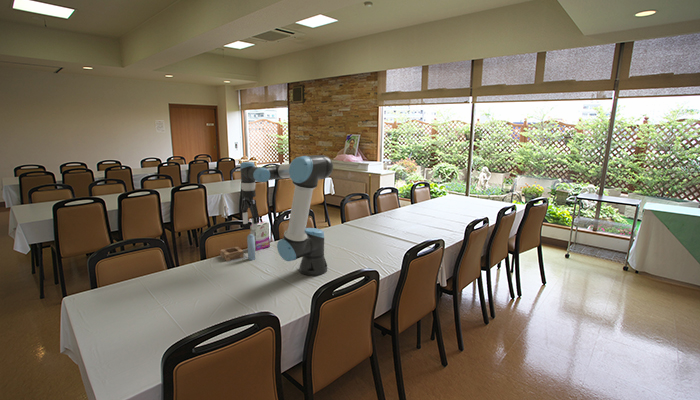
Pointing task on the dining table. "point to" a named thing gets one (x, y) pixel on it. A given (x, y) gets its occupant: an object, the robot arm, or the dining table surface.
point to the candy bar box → (261, 235)
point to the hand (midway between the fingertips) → (250, 226)
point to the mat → (237, 259)
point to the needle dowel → (251, 247)
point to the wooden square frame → (232, 253)
